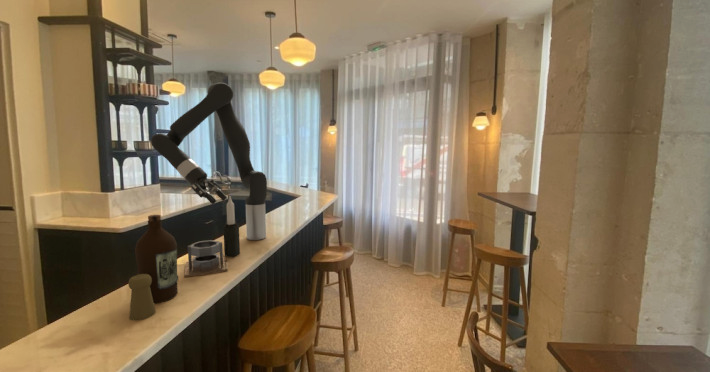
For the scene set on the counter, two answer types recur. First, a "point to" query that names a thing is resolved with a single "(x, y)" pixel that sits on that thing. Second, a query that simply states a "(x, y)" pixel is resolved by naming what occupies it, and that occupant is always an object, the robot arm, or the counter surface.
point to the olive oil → (158, 260)
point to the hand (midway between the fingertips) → (220, 200)
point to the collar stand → (205, 258)
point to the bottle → (231, 232)
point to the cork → (141, 297)
